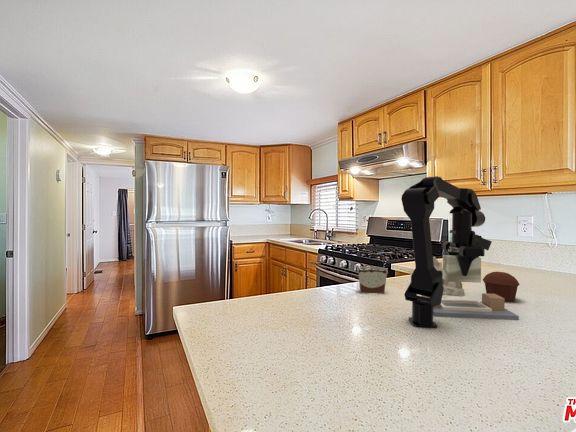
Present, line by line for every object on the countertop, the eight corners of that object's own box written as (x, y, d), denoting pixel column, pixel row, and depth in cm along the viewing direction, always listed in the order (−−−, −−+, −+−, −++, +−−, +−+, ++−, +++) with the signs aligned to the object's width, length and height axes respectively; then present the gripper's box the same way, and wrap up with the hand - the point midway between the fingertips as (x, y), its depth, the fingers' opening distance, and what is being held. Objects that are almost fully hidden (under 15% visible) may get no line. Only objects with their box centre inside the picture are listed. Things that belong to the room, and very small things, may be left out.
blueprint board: (518, 319, 96) (519, 302, 96) (425, 315, 99) (425, 299, 99) (493, 305, 110) (493, 290, 110) (412, 302, 114) (413, 287, 114)
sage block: (480, 282, 102) (481, 257, 101) (448, 281, 103) (448, 257, 103) (473, 279, 107) (474, 255, 106) (442, 278, 108) (442, 255, 108)
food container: (385, 290, 132) (385, 266, 131) (388, 294, 125) (388, 268, 125) (355, 289, 133) (355, 265, 133) (356, 293, 127) (356, 268, 126)
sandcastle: (464, 297, 120) (463, 257, 121) (418, 293, 129) (417, 256, 130) (466, 291, 134) (465, 255, 135) (424, 288, 142) (423, 254, 143)
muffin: (526, 301, 116) (527, 274, 115) (506, 304, 111) (506, 276, 111) (494, 293, 127) (495, 269, 126) (475, 296, 122) (475, 270, 122)
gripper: (503, 229, 94) (502, 281, 94) (474, 226, 113) (474, 270, 113) (463, 228, 96) (463, 280, 96) (442, 226, 114) (441, 269, 114)
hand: (461, 274), depth 105 cm, fingers closed on sage block, 5 cm apart
